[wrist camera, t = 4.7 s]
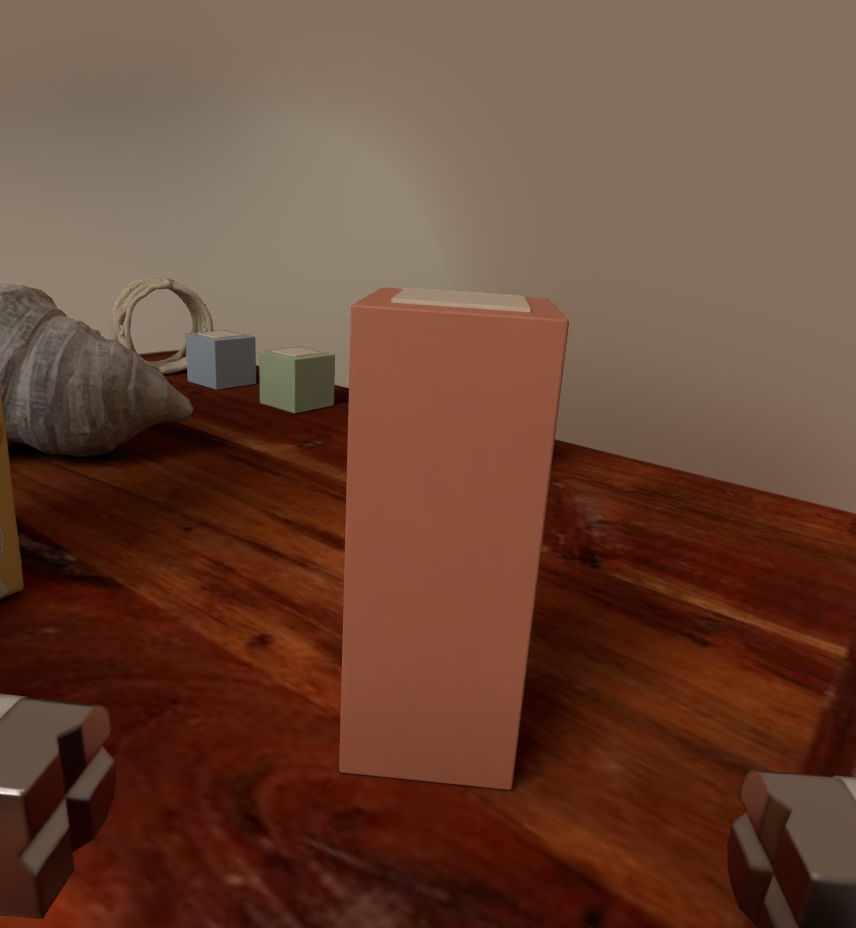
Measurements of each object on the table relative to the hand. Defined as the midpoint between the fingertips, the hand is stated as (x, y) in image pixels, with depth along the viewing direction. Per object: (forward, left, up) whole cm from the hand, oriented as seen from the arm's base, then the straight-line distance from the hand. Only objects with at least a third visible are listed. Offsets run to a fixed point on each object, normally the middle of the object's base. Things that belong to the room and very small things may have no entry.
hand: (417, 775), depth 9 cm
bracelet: (+27, -53, -7) cm, 60 cm away
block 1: (+21, -50, -7) cm, 55 cm away
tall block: (0, -10, -7) cm, 12 cm away
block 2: (+13, -45, -7) cm, 47 cm away
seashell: (+26, -31, -7) cm, 41 cm away
